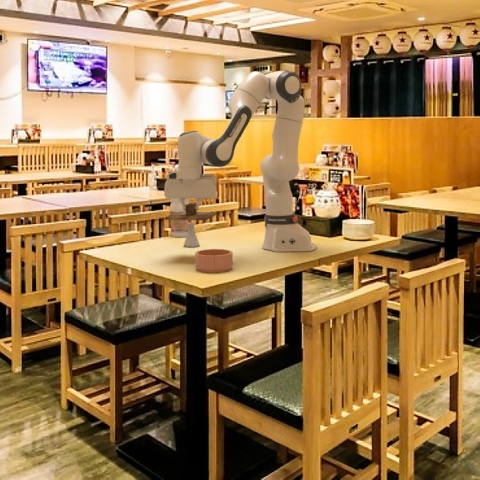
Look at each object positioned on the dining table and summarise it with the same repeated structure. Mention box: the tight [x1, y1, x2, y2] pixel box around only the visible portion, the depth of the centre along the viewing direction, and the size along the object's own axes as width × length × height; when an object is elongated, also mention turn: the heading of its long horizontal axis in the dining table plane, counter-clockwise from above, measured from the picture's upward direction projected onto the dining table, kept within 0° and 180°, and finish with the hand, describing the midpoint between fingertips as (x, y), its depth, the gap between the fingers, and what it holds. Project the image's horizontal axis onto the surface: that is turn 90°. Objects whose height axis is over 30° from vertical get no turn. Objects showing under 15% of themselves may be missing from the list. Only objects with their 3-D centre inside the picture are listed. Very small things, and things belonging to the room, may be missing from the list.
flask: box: [183, 222, 201, 248], centre depth 280 cm, size 7×7×10 cm
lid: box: [164, 202, 217, 221], centre depth 252 cm, size 16×16×5 cm
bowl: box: [194, 248, 234, 274], centre depth 235 cm, size 13×13×6 cm
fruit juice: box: [169, 198, 192, 238], centre depth 305 cm, size 9×9×28 cm
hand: (191, 210), depth 252 cm, fingers closed on lid, 3 cm apart
